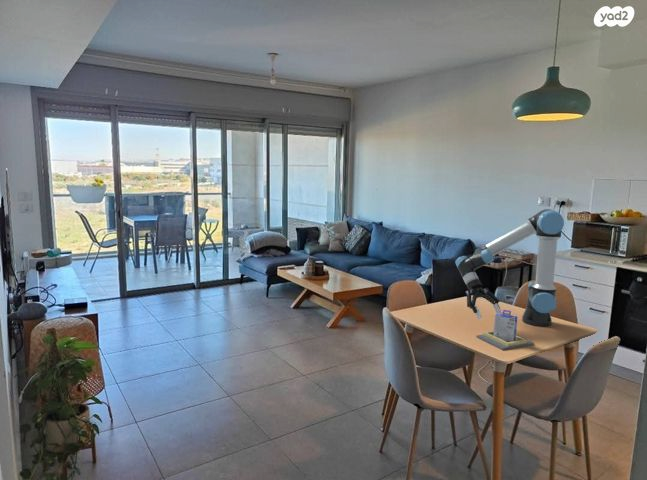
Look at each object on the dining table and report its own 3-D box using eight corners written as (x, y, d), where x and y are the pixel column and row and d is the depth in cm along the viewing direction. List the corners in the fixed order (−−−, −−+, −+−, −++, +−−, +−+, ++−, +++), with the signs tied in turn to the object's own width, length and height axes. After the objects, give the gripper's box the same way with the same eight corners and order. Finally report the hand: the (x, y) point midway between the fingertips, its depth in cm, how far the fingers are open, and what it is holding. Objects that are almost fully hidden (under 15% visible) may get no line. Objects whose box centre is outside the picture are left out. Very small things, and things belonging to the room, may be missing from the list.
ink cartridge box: (516, 339, 221) (518, 311, 219) (513, 342, 217) (516, 314, 215) (495, 335, 227) (497, 308, 224) (492, 338, 222) (495, 310, 220)
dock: (506, 332, 234) (506, 328, 233) (533, 344, 217) (534, 339, 217) (476, 337, 226) (476, 332, 226) (502, 350, 210) (502, 345, 209)
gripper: (486, 283, 249) (504, 317, 238) (450, 287, 240) (467, 322, 228) (494, 276, 244) (513, 310, 232) (457, 280, 234) (475, 315, 223)
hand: (490, 316), depth 230 cm, fingers open, 13 cm apart
